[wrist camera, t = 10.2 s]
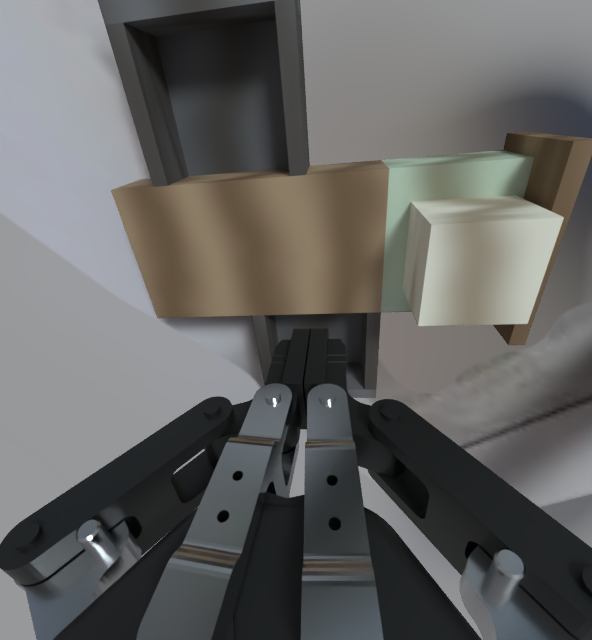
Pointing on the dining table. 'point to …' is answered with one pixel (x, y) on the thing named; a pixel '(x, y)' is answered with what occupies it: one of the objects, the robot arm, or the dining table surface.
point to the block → (477, 259)
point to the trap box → (284, 182)
